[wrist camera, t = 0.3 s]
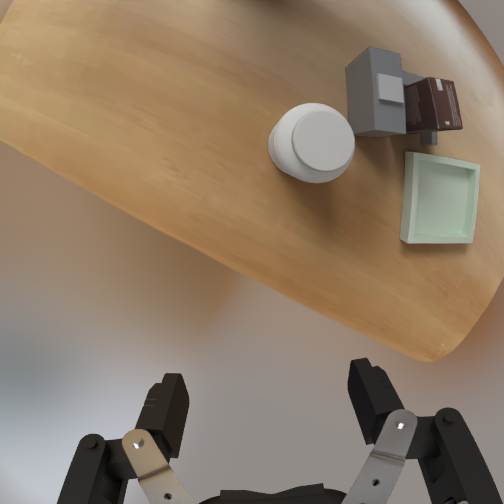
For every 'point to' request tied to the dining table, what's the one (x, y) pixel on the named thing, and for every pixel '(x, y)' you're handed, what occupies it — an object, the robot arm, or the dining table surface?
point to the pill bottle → (312, 143)
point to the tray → (439, 199)
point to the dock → (379, 95)
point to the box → (431, 106)
